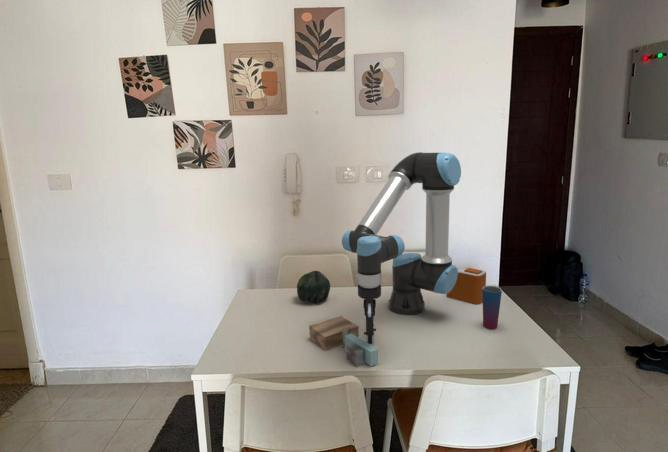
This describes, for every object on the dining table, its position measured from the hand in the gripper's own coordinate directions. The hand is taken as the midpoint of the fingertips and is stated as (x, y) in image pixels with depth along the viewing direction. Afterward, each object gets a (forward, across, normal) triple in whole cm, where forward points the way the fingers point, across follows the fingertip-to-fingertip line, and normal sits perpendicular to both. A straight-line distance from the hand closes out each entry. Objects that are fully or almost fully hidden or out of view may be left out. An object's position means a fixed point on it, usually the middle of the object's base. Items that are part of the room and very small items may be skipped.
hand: (370, 350), depth 145 cm
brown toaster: (+2, -51, +42) cm, 66 cm away
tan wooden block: (+2, -5, -9) cm, 10 cm away
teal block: (+1, +1, -3) cm, 4 cm away
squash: (+2, -48, -26) cm, 54 cm away
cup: (+2, -23, +45) cm, 50 cm away
